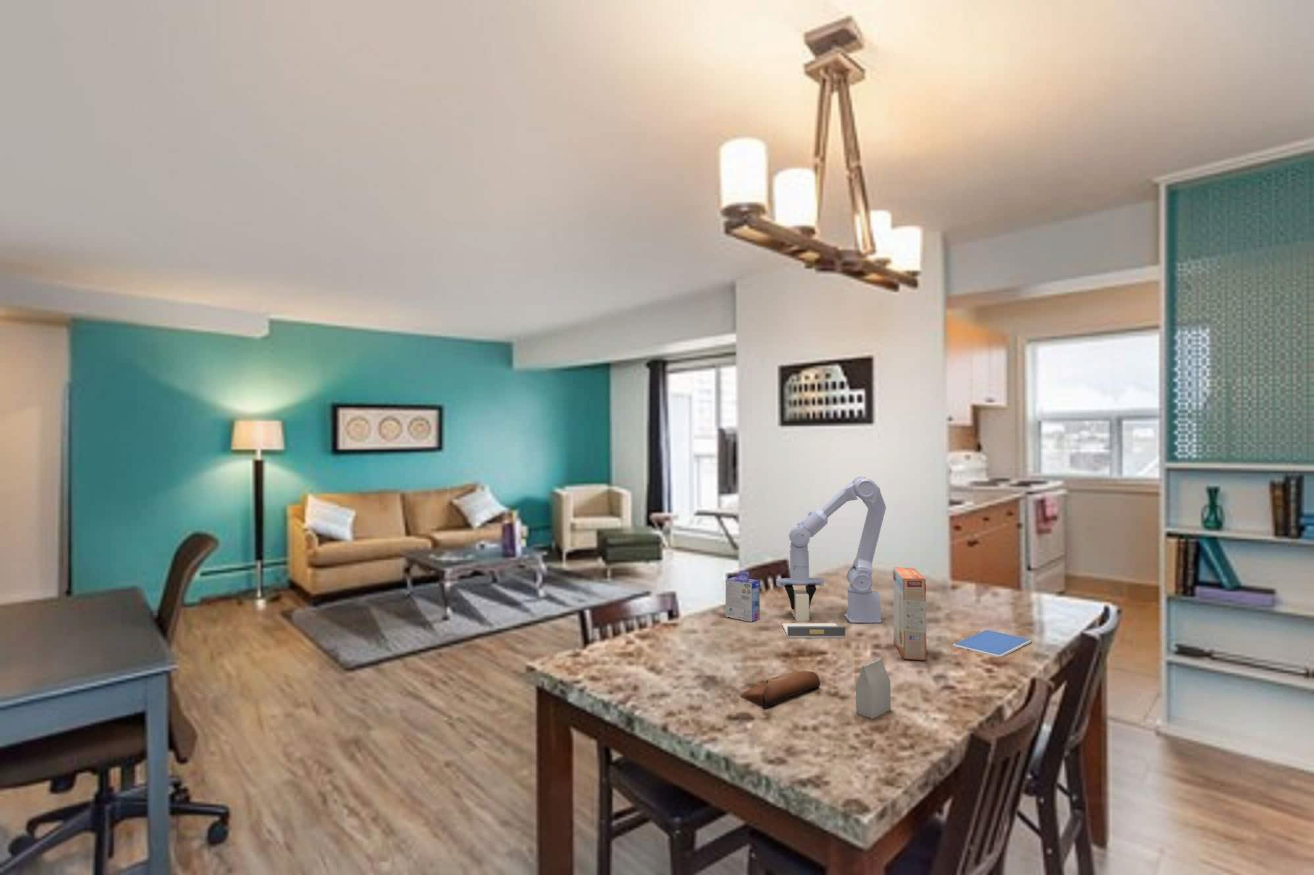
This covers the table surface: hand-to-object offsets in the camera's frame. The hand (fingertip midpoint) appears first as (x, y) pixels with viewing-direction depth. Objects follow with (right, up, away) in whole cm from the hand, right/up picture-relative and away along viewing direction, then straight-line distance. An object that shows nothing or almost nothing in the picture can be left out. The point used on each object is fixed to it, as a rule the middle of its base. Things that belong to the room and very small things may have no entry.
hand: (800, 608), depth 195 cm
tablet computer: (+46, -3, -27) cm, 53 cm away
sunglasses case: (-18, -4, -57) cm, 60 cm away
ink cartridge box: (-18, -4, +1) cm, 18 cm away
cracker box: (+21, -3, -32) cm, 39 cm away
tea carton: (0, -3, 0) cm, 3 cm away
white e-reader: (0, -3, -14) cm, 14 cm away
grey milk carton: (0, -3, -67) cm, 67 cm away
